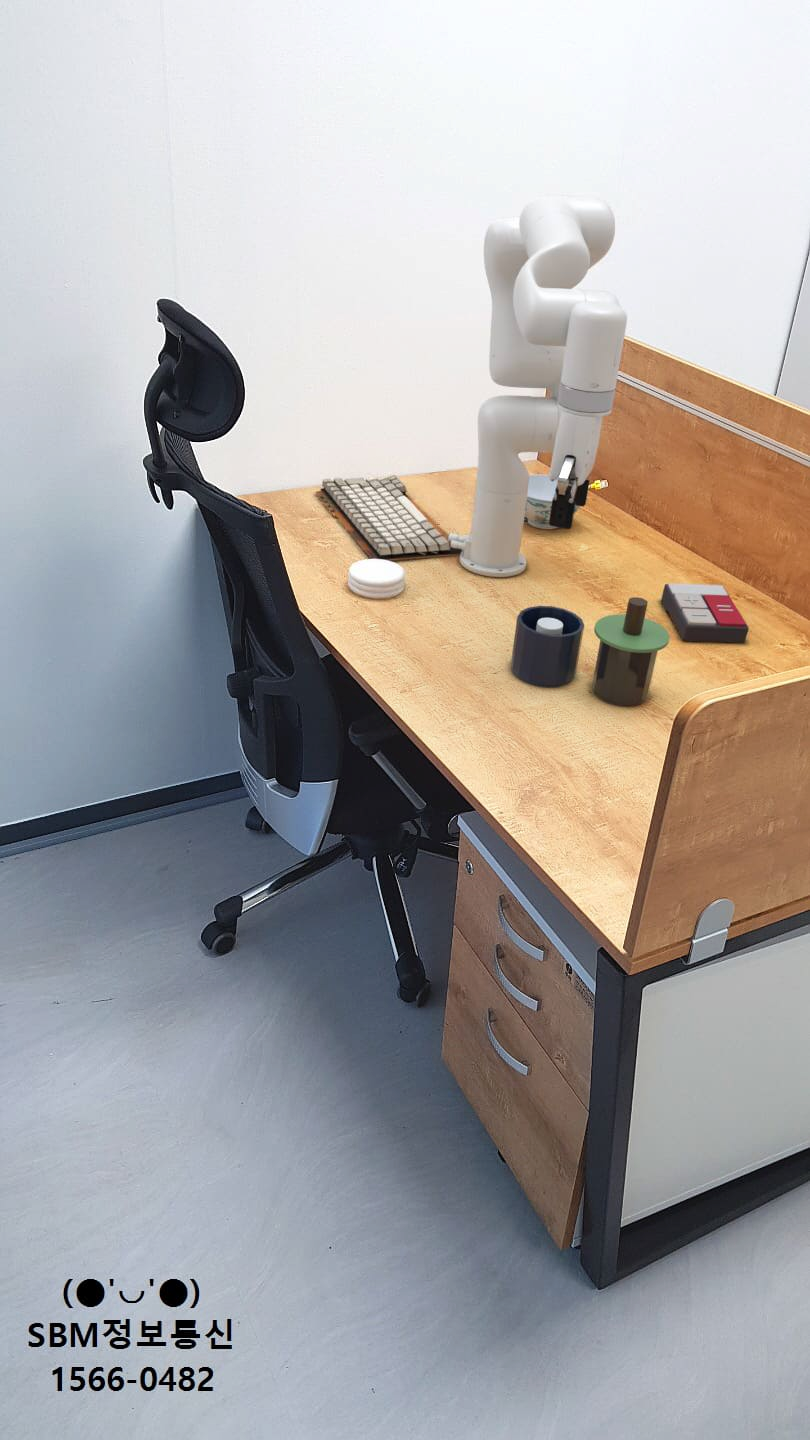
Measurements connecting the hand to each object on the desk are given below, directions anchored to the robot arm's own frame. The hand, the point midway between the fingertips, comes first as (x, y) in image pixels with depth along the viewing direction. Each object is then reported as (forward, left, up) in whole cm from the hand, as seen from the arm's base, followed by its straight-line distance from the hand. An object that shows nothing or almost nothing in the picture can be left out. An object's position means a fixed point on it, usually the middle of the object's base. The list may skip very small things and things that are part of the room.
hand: (567, 515), depth 160 cm
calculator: (+22, +30, -26) cm, 45 cm away
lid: (+12, -1, -16) cm, 20 cm away
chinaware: (-14, +61, -26) cm, 68 cm away
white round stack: (-34, +16, -26) cm, 46 cm away
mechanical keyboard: (-44, +46, -27) cm, 69 cm away
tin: (0, 0, -26) cm, 26 cm away
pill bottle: (0, -1, -26) cm, 26 cm away
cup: (+12, -1, -26) cm, 29 cm away
